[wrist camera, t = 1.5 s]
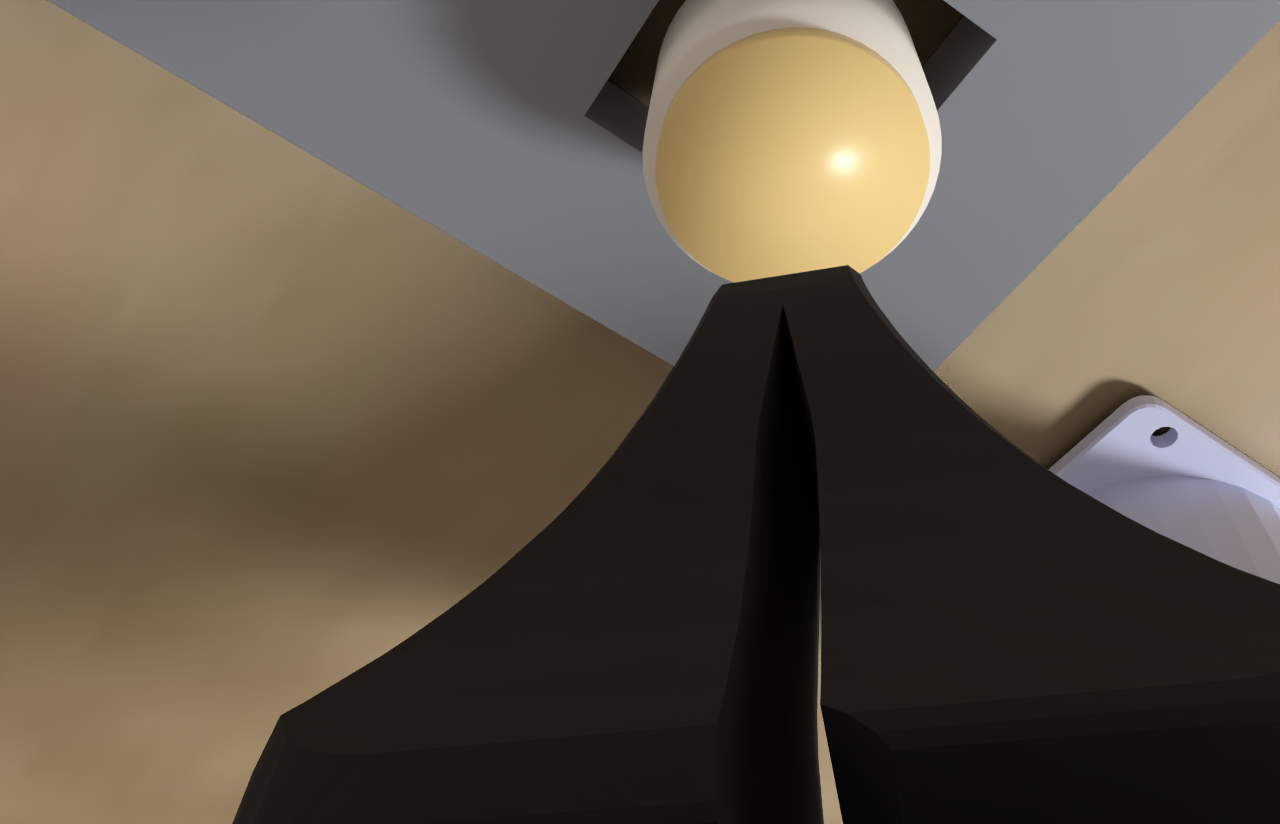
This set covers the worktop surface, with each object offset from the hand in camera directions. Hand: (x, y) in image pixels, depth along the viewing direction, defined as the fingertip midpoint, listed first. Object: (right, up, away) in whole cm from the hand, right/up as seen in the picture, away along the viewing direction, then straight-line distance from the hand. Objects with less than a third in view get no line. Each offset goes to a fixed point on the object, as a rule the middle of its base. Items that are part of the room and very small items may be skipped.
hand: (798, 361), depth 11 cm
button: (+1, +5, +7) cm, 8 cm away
